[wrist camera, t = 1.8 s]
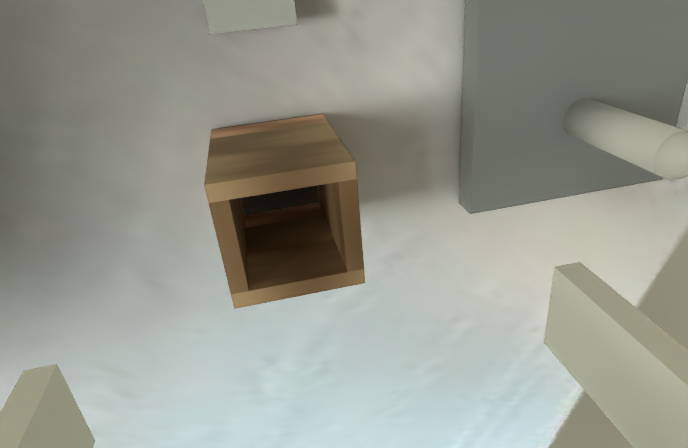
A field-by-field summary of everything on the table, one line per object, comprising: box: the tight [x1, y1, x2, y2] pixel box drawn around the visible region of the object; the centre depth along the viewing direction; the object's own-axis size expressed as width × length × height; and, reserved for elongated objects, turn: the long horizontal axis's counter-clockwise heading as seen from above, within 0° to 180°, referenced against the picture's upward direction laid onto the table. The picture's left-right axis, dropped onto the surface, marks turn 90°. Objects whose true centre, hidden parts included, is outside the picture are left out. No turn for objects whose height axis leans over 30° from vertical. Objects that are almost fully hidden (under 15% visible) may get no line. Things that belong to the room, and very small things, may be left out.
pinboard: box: [459, 0, 688, 214], centre depth 20 cm, size 12×18×8 cm, turn 5°
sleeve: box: [204, 114, 365, 309], centre depth 21 cm, size 5×5×7 cm
